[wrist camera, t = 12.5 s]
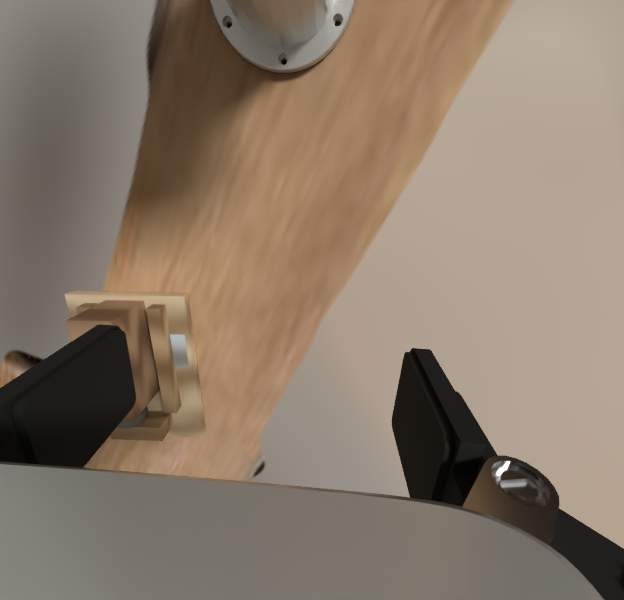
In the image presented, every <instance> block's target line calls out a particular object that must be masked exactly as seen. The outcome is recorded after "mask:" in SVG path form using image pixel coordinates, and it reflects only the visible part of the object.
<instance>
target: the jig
mask: <svg viewBox="0 0 624 600" xmlns="http://www.w3.org/2000/svg"><path fill="white" fill-rule="evenodd" d="M65 298H66V301H67V305H68V309H69V313H70V317H71V318H72V317H74V316H76V315H78V314H80V313H82V312H84V311H85V310H87V309H89V308H91V307H93V306H95V305H97V304H99V303H101V302H103V301H105V300H130V301H144V304H145V309H146V315H147V320H148V326H149V331H150V337H151V342H152V348H153V353H154V359H155V364H156V370H157V375H158V381H159V386H160V390H159V392H158V393H157V394H156V395H155V396H154V398H153V399H152V400H151V401H150V402H149V404H148V405H147V407H148V412H149V415H148V417H147V419H146V420H145V421H144V422H142V423H141V424H139V425H137V426H134V427H131V428H119V427H116V429H115V430H114V431H113V432H112V433H111V439H125V440H151V441H163V439H164V438H165V436H185V437H203V436H204V434H205V432H206V428H205V420H204V413H203V405H202V398H201V390H200V382H199V375H198V367H197V360H196V352H195V345H194V337H193V329H192V322H191V314H190V307H189V299H188V293H146V292H91V291H71V292H69V293H66V294H65Z"/></svg>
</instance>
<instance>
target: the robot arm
mask: <svg viewBox="0 0 624 600" xmlns="http://www.w3.org/2000/svg"><path fill="white" fill-rule="evenodd" d="M210 2H211V6H212V9H213V12H214V15H215V18H216V20H217V22H218V24H219V26H220V28H221V30H222V32H223V33H224V35H225V36H226V38H227V39H228V41H229V42H230V44H231V45H232V46H233V47H234V48H235V49H236V51H237V52H238V53H239V54H240V55H241V56H243V57H244V58H245V59H246V60H248V61H249V62H250V63H252V64H254V65H256V66H258V67H259V68H261V69H264V70H268V71H272V72H276V73H291V72H296V71H301V70H304V69H306V68H308V67H311V66H313V65H314V64H316V63H317V62H319V61H320V60H322V59H323V58H325V57H326V55H327V54H328V53H329V52H330V51H331V50H332V49H333V48H334V47H335V46H336V44H337V43H338V41H339V40H340V38H341V37H342V35H343V34H344V32H345V29H346V27H347V25H348V23H349V21H350V18H351V14H352V11H353V7H354V3H355V0H210ZM336 22H340V24H341V25H340V26H335V23H336ZM229 24H232V26H231V27H230V28H228V25H229ZM283 60H286V61H287V63H286V64H285V65H282V61H283ZM135 402H136V392H135V386H134V380H133V374H132V368H131V362H130V356H129V350H128V345H127V339H126V334H125V332H124V331H123V330H121V328H120V327H119V326H115V325H102V324H99V325H96V326H95V327H93V328H92V329H90V330H89V331H87V332H86V333H84V334H83V335H81V336H80V337H78V338H76V339H75V340H73V341H72V342H70V343H69V344H67V345H66V346H64V347H63V348H61V349H60V350H58V351H57V352H55V353H54V354H52V355H50V356H49V357H48V358H46V359H44V360H43V361H41V362H40V363H38V364H37V365H35V366H34V367H32V368H31V369H29V370H27V371H26V372H24V373H23V374H21V375H20V376H18V377H17V378H15V379H14V380H12V381H11V382H9V383H8V384H6V385H5V386H3V387H1V388H0V600H624V549H623V548H621V547H620V546H618V545H617V544H615V543H613V542H612V541H610V540H609V539H607V538H605V537H604V536H602V535H601V534H599V533H597V532H596V531H594V530H593V529H591V528H590V527H588V526H586V525H585V524H583V523H581V522H580V521H578V520H577V519H575V518H574V517H572V516H570V515H569V514H567V513H566V512H564V511H562V510H561V509H559V496H558V493H557V491H556V489H555V487H554V486H553V485H552V483H551V482H550V481H549V480H548V479H547V477H545V476H544V475H543V474H542V473H541V472H540V471H538V470H537V469H535V468H534V467H532V466H531V465H529V464H527V463H526V462H523V461H521V460H519V459H516V458H512V457H509V456H498V455H497V454H496V452H495V451H494V449H493V447H492V446H491V444H490V442H489V441H488V439H487V437H486V436H485V434H484V433H483V431H482V429H481V428H480V426H479V424H478V422H477V421H476V419H475V418H474V416H473V414H472V413H471V411H470V409H469V408H468V406H467V404H466V403H465V401H464V399H463V398H462V396H461V395H460V394H459V393H458V392H455V390H454V389H453V387H452V385H451V384H450V382H449V380H448V379H447V377H446V375H445V373H444V372H443V370H442V368H441V367H440V365H439V363H438V362H437V360H436V358H435V357H434V355H433V353H432V351H431V350H429V349H416V348H412V349H411V351H410V352H406V353H405V354H404V359H403V364H402V369H401V374H400V379H399V384H398V390H397V395H396V400H395V406H394V410H393V416H392V428H393V432H394V436H395V440H396V444H397V448H398V452H399V456H400V460H401V464H402V467H403V471H404V475H405V479H406V482H407V487H408V491H409V495H410V498H409V497H401V496H393V495H386V494H375V493H364V492H354V491H345V490H334V489H323V488H312V487H301V486H290V485H279V484H268V483H257V482H246V481H235V480H223V479H211V478H200V477H188V476H176V475H164V474H152V473H140V472H128V471H116V470H103V469H90V468H83V467H84V466H85V465H86V463H87V462H88V461H89V460H90V459H91V457H92V456H93V455H94V454H95V453H96V451H97V450H98V449H99V448H100V447H101V445H102V444H103V443H104V442H105V441H106V439H107V438H108V437H109V436H110V435H111V433H112V432H113V431H114V430H115V429H116V427H117V426H118V425H119V424H120V423H121V421H122V420H123V419H124V418H125V417H126V415H127V414H128V413H129V412H130V411H131V409H132V408H133V407H134V405H135Z"/></svg>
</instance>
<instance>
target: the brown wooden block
mask: <svg viewBox="0 0 624 600" xmlns="http://www.w3.org/2000/svg"><path fill="white" fill-rule="evenodd" d="M66 322H67V326H68V330H69V333H70V337H71V340H72V341H73V340H75V339H76V338H78V337H80V336H81V335H83V334H84V333H86V332H87V331H89V330H90V329H92V328H93V327H95V326H96V325H99V324H102V325H115V326H119V327H120V328H121V330H123V331H124V332H125V334H126V339H127V345H128V350H129V356H130V362H131V368H132V374H133V380H134V386H135V392H136V402H135V405H134V407H133V408H132V409H131V411H130V412H129V413H128V414H127V415H126V417H125V418H124V419H123V420H122V421H121V423H120V424H119V425H118V426H117V427H119V428H131V427H134V426H137V425H139V424H141V423H142V422H144V421H145V420H146V419H147V417H148V415H149V412H148V407H147V405H148V404H149V402H150V401H151V400H152V399H153V398H154V396H155V395H156V394H157V393H158V392H159V390H160V386H159V381H158V375H157V370H156V364H155V359H154V353H153V348H152V342H151V337H150V331H149V326H148V320H147V315H146V309H145V304H144V301H130V300H105V301H103V302H101V303H99V304H97V305H95V306H93V307H91V308H89V309H87V310H85V311H84V312H82V313H80V314H78V315H76V316H74V317H72V318H70V319H68V320H66Z"/></svg>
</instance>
